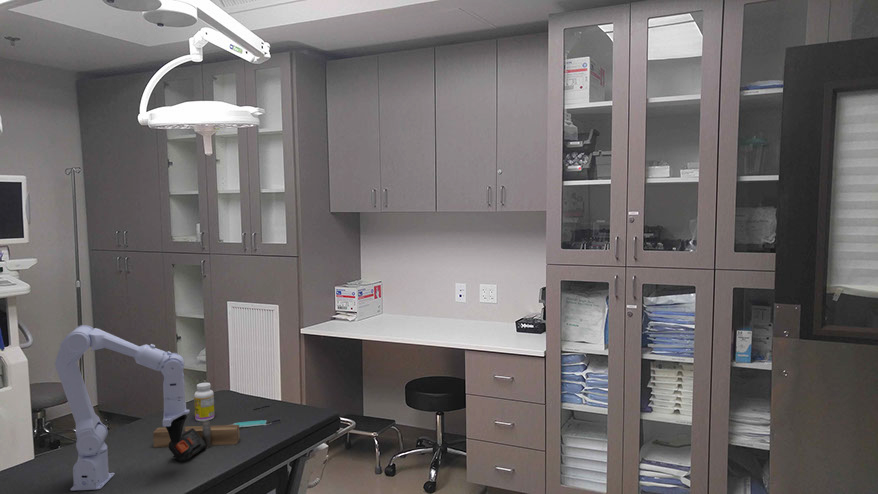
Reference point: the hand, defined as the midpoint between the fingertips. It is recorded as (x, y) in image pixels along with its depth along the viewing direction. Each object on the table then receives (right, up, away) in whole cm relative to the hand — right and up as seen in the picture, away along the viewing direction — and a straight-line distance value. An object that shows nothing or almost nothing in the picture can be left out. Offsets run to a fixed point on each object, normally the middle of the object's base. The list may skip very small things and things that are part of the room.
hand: (175, 441), depth 179 cm
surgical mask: (+11, -6, +37) cm, 39 cm away
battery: (-1, -8, +11) cm, 14 cm away
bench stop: (-2, -7, +19) cm, 21 cm away
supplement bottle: (-8, -6, +43) cm, 44 cm away
